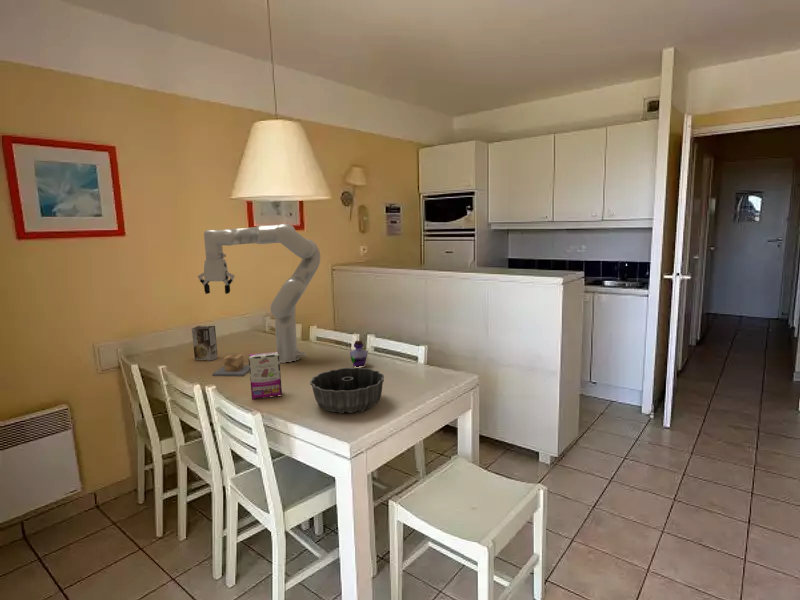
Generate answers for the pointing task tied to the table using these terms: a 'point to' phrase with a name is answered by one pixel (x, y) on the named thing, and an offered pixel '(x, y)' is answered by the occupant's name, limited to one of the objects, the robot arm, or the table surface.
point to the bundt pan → (347, 389)
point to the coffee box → (204, 343)
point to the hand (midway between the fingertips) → (217, 293)
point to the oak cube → (233, 362)
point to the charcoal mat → (232, 372)
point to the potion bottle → (358, 354)
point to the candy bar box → (265, 375)
